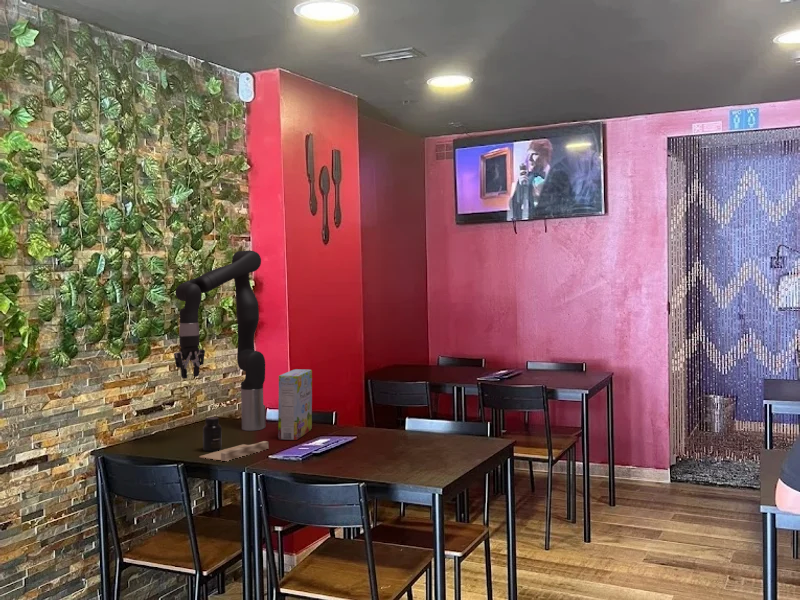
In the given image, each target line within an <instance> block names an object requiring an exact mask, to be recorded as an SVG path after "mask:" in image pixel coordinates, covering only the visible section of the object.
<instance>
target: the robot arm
mask: <svg viewBox="0 0 800 600" xmlns="http://www.w3.org/2000/svg"><path fill="white" fill-rule="evenodd" d="M261 265H262V258H261V255H260V254H259V253H258V252H257V251H254V250H239V251H236V252H235V253H234V254H233V256H232V259H231V263H230V264H226V265H224V266H221V267H220V266H219V267H217V268H214V269H212V270H210V271H208V272H205V273H204V274H201V275H200V276H198V277H195V278H192V279H190V280H187V281H184V282H182V283H180V284H179V285H178V286H177V287H176V289H175V292H174V293H175V296H176V299H178V300H179V301H181V302H184V307H182V308H180V310H179V329H178V333H179V336H178V337H179V346H180V351H179V352H174V353H173V355H174V361H175V366H176V367H175V368H178V369H180V376H181V379H187V378H188V369H187V368H188V364H189V363H190V361H191V362H192V365H193V371H192V372H193V377H199V375H200V367H201V366H203V365H204V361H205V354H206V350H205V349H199V346H200V326H199V325H200V324H199V309H200V305H201V301H202V294H204V293H205V294H206V293H209V292H212V291H213V290H215V289H217V288H218V287H220V286H221V285H224V284H226V283H228V282H230V281H231V280H234V287H235V288H234V289H235V307H236V320H237V321H236V322H237V324H236V327H237V352H236V353H237V355H236V361H237V365H238V368H239V369H240V370H242V371H243V372H245V373H244V374H245V375H244V376H245V378H244V379H243V381H241V383H240V397H241V399H240V401H241V402H240V403H241V409H240V410H241V430H242V431H250V432H252V431H259V430H260V431H261V430H263V429H265V428H266V427H267V426H266V424H267V423H266V405H265V404H264V383H265V381H266V359H265V355H264V354H263V353H262V352H261V351H258V350H256V349H255V333H256V331H257V327H258V324H259V320H260V312H259V310H260V309H259V307H260V306H259V302H258V299H257V296H256V295H255V292H254V291H253V289H252V285H251V282H250V273H253V272H256V271H258V269H259V268H260V267H261Z"/></svg>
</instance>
